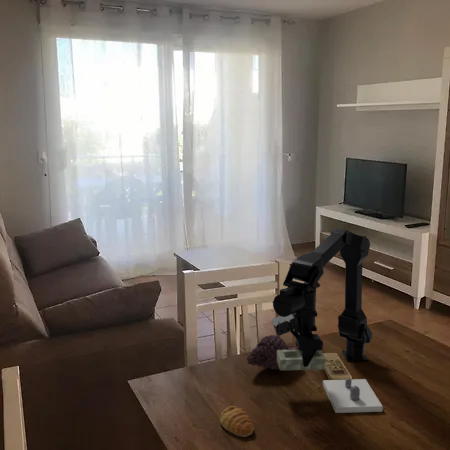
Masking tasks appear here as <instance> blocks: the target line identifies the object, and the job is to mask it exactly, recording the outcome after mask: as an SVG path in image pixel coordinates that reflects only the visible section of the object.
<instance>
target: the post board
mask: <svg viewBox="0 0 450 450" xmlns="http://www.w3.org/2000/svg"><path fill="white" fill-rule="evenodd" d="M322 386H323V390H324V391H325V393H326V395H327V398H328V400H329V401H330V404H331V406H332V408H333V411H334V412H335V414H340V413H341V414H344V413H345V414H346V413H347V414H349V413H374V412H376V413H377V412H378V413H381V412H383V407H384V406H383V405H382V403H381V401H380V400H379V398H378V396H376V394H375V391H373V389H372V387H371V386H370V384H369V383H368V380H367V379H366V378H360V379H359V378H354V379H351V378H349V377H347V378H346V379H328V380H327V379H326V380H325V379H324V380H322Z"/></svg>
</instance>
